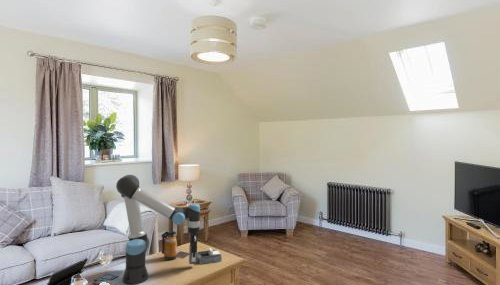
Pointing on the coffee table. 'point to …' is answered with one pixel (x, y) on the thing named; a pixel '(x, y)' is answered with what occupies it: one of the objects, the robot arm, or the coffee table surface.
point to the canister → (169, 245)
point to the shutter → (213, 252)
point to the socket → (208, 257)
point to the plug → (191, 255)
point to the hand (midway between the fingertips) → (192, 260)
